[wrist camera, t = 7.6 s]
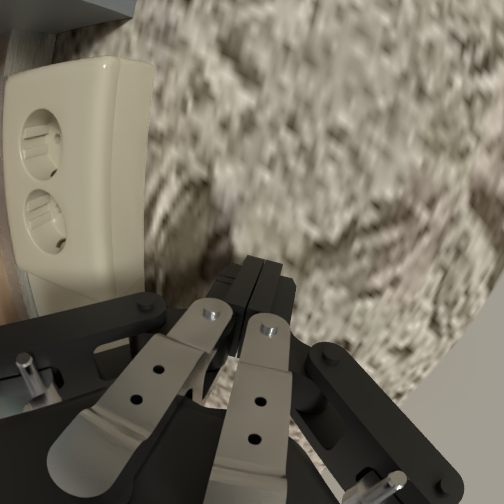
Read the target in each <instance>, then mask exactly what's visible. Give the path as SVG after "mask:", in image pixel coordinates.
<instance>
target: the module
mask: <svg viewBox="0 0 504 504" xmlns="http://www.w3.org/2000/svg"><path fill="white" fill-rule="evenodd" d="M135 4H136V0H0V35H1V34H3V33H5V32H7V31H9V30H25V31H36V32H45V33H53V34H58V33H62V32H65V31H69V30H73V29H77V28H81V27H85V26H90V25H94V24H99V23H104V22H109V21H115V20H120V19H127V18H133V13H134V9H135Z"/></svg>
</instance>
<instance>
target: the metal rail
mask: <svg viewBox="0 0 504 504" xmlns="http://www.w3.org/2000/svg"><path fill="white" fill-rule="evenodd" d="M56 35H57V34H53V33H45V32H36V31H25V30H9V31H7V32H5V33H3V34H1V35H0V251H1V255H2V260H3V264H4V268H5V272H6V276H7V280H8V284H9V287H10V291H11V294H12V298H13V301H14V304H15V307H16V310H17V313H18V316H19V319H20V321H23V320H27V319H31V318H36V317H39V315H38V312H37V309H36V305H35V301H34V298H33V294H32V290H31V286H30V282H29V277H28V273H27V272H25V271H23V270H21V269H20V268H19V267H18V266H17V264H16V261H15V256H14V251H13V246H12V240H11V235H10V229H9V222H8V215H7V207H6V198H5V188H4V175H3V153H2V123H3V102H4V89H5V83H6V80H7V78H8V77H9V76H10V75H12V74H15V73H18V72H22V71H26V70H30V69H34V68H38V67H42V66H47V65H51V64H52V59H53V52H54V46H55V41H56Z"/></svg>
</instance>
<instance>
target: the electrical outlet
mask: <svg viewBox="0 0 504 504" xmlns="http://www.w3.org/2000/svg"><path fill="white" fill-rule="evenodd" d="M154 76H155V66H154V65H153V64H149V63H145V62H140V61H136V60H131V59H126V58H121V57H115V56H108V55H106V56H98V57H91V58H84V59H78V60H72V61H66V62H61V63H56V64H51V65H47V66H42V67H38V68H34V69H30V70H26V71H22V72H18V73H15V74H12V75H10V76H9V77H8V78H7V80H6V83H5V89H4V102H3V123H2V153H3V175H4V188H5V198H6V207H7V215H8V222H9V229H10V235H11V240H12V246H13V251H14V256H15V261H16V264H17V266H18V267H19V268H20V269H21V270H23V271H25V272H27V273H28V277H29V282H30V286H31V290H32V294H33V298H34V301H35V305H36V309H37V312H38V315H39V317H40V316H44V315H48V314H53V313H57V312H61V311H65V310H69V309H73V308H78V307H82V306H86V305H90V304H94V303H98V302H102V301H106V300H110V299H115V298H119V297H123V296H127V295H131V294H135V293H139V292H145V284H144V189H145V168H146V152H147V139H148V128H149V117H150V108H151V99H152V91H153V84H154ZM126 344H129V337H128V338H124V339H121V340H118V341H114V342H111V343H107V344H104V345H101V346H99V347H97V348H96V349H95V351H94V353H98V352H102V351H105V350H109V349H112V348H116V347H119V346H122V345H126Z"/></svg>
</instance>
